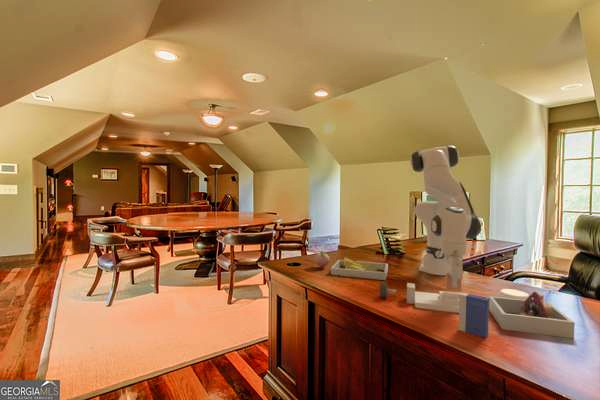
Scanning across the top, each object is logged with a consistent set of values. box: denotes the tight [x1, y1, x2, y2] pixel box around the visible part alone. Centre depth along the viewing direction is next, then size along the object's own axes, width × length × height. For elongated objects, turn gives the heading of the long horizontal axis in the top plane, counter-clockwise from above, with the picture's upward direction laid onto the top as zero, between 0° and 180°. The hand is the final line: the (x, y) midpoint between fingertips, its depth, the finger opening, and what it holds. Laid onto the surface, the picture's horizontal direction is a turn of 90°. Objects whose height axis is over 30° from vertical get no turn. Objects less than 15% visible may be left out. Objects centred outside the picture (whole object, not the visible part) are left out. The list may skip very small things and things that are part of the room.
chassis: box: [406, 282, 463, 314], centre depth 124 cm, size 14×23×6 cm, turn 71°
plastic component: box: [343, 256, 378, 272], centre depth 171 cm, size 20×7×10 cm
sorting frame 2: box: [488, 295, 576, 339], centre depth 107 cm, size 18×19×5 cm
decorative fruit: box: [313, 250, 330, 269], centre depth 178 cm, size 9×8×10 cm
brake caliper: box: [517, 291, 553, 319], centre depth 106 cm, size 11×11×12 cm
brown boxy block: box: [444, 273, 462, 292], centre depth 122 cm, size 5×5×6 cm
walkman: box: [458, 292, 490, 339], centre depth 99 cm, size 8×3×12 cm, turn 47°
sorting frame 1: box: [330, 259, 389, 281], centre depth 170 cm, size 21×28×4 cm
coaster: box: [499, 288, 530, 300], centre depth 129 cm, size 10×10×4 cm
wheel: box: [379, 282, 398, 299], centre depth 130 cm, size 6×7×6 cm
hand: (452, 284), depth 122 cm, fingers closed on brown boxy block, 5 cm apart
